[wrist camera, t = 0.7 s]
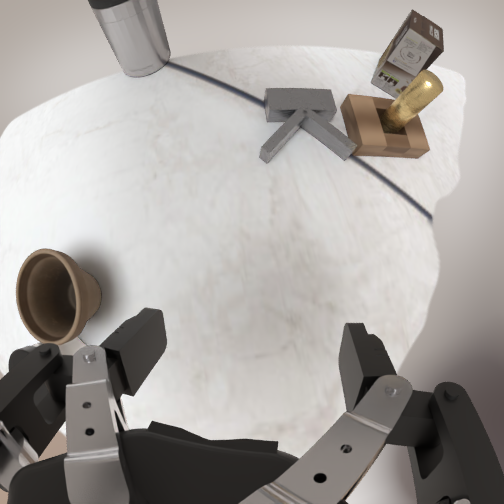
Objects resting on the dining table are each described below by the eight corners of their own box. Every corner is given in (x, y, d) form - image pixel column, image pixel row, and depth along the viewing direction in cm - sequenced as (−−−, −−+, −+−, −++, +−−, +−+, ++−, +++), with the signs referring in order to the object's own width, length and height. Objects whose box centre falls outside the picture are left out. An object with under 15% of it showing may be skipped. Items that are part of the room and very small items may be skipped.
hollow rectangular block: (340, 107, 39) (348, 94, 36) (403, 113, 40) (413, 103, 36) (352, 155, 39) (363, 145, 35) (417, 158, 40) (430, 150, 36)
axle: (369, 122, 40) (416, 67, 24) (386, 124, 40) (436, 73, 24) (374, 141, 39) (427, 89, 23) (392, 142, 40) (447, 94, 24)
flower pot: (45, 281, 35) (3, 281, 25) (91, 239, 36) (52, 229, 26) (79, 345, 34) (41, 361, 24) (130, 307, 35) (97, 317, 25)
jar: (95, 391, 34) (56, 423, 22) (56, 376, 34) (13, 399, 22) (95, 338, 35) (49, 357, 23) (54, 325, 34) (5, 338, 22)
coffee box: (399, 101, 41) (444, 52, 24) (369, 82, 40) (408, 27, 24) (405, 75, 41) (444, 29, 25) (378, 58, 41) (412, 7, 25)
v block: (251, 101, 39) (252, 89, 35) (335, 102, 40) (341, 90, 36) (260, 163, 38) (262, 153, 34) (350, 160, 39) (359, 151, 35)
